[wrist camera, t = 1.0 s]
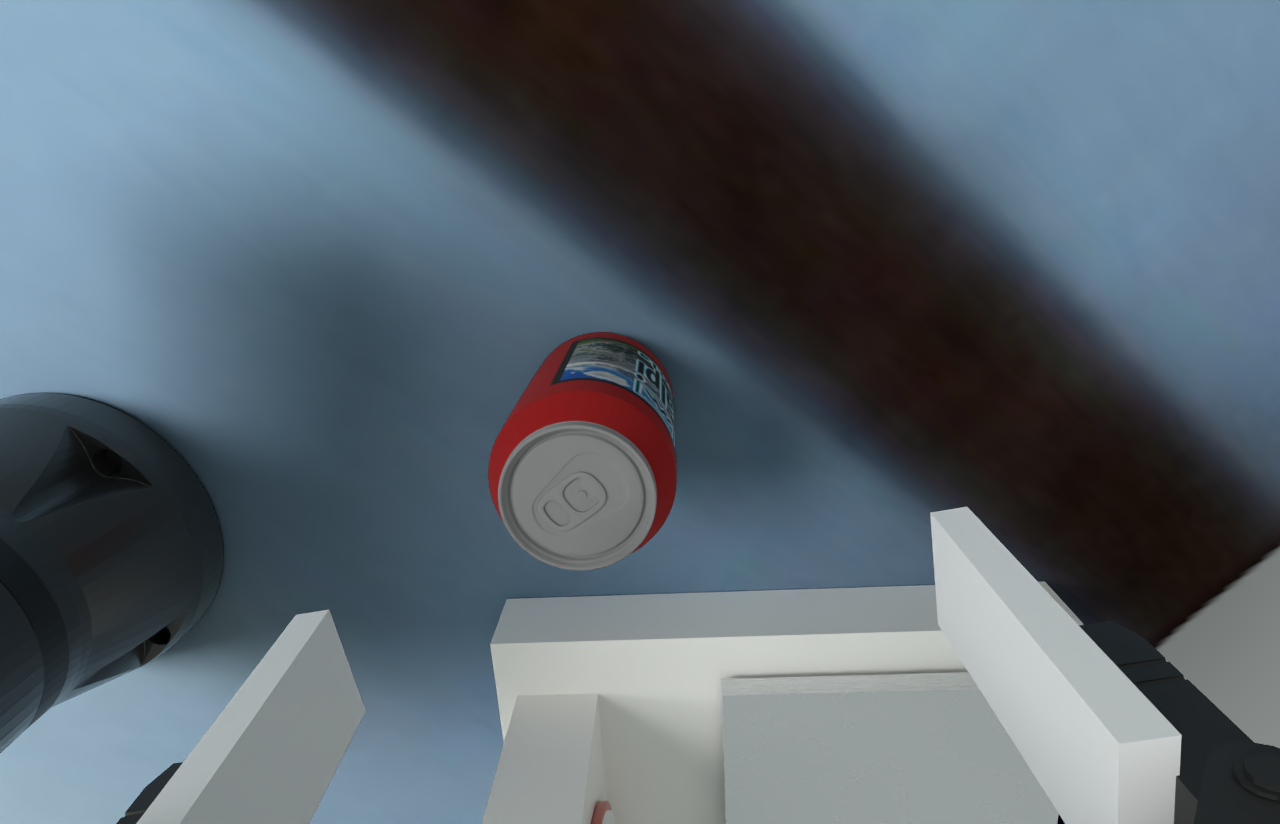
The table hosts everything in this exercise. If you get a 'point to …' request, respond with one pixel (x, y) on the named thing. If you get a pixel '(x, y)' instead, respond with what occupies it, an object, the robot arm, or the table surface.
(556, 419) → the beverage can
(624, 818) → the scale
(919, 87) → the table surface
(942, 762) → the weighing pan
